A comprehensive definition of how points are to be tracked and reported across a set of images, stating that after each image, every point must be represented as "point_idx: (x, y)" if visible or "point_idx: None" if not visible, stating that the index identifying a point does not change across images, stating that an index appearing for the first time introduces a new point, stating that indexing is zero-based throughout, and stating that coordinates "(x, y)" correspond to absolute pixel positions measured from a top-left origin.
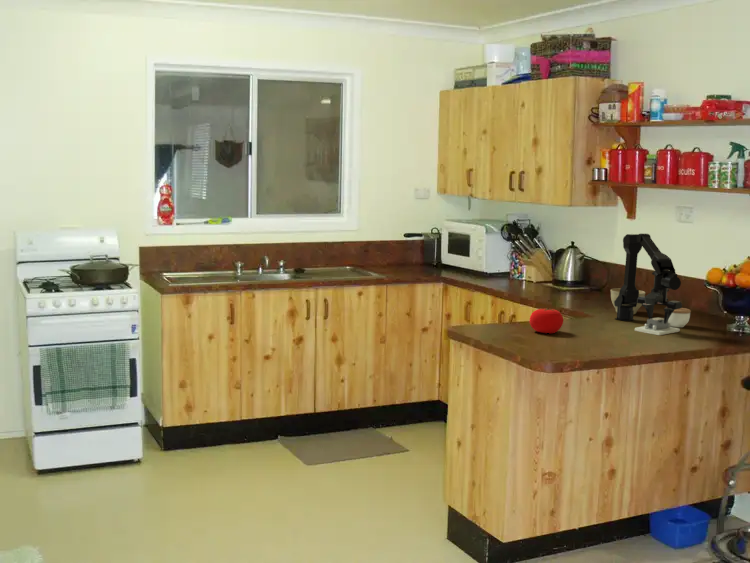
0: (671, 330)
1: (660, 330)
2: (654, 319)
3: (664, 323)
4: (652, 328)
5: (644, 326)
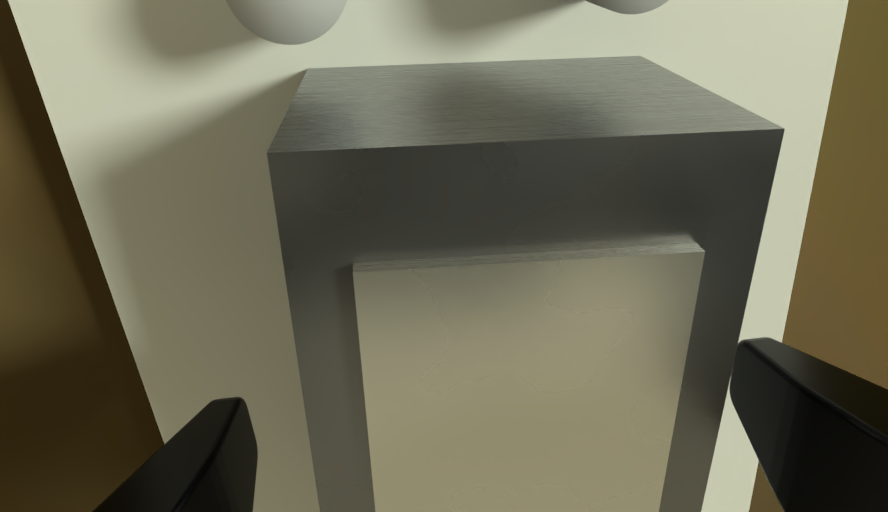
0: (148, 393)
1: (209, 122)
2: (498, 260)
3: (234, 399)
4: (446, 70)
5: (782, 194)
